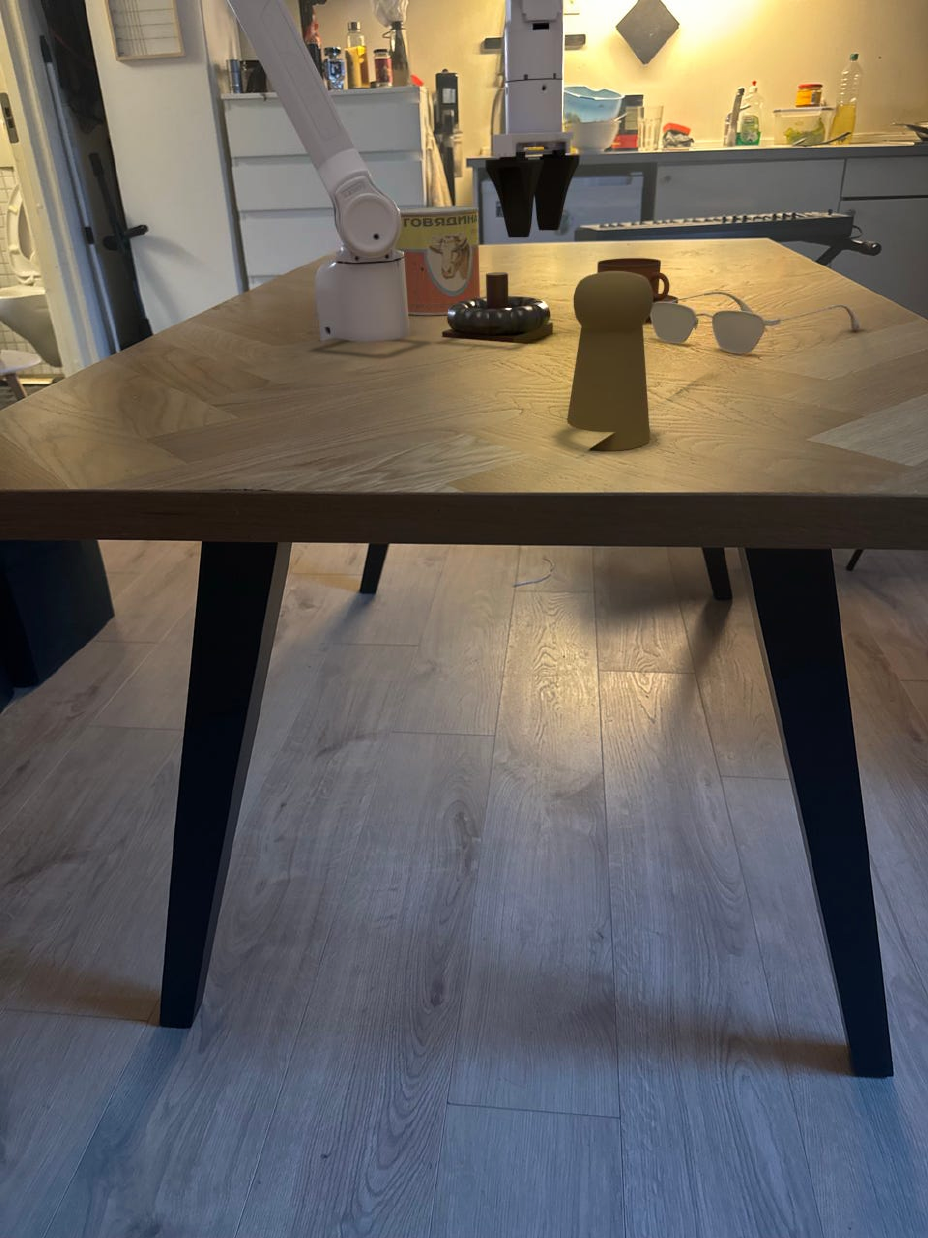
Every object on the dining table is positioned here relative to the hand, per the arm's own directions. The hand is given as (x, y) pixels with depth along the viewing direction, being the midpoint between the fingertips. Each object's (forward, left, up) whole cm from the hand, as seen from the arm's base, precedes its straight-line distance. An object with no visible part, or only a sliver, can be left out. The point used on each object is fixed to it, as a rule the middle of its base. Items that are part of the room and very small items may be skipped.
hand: (534, 233), depth 90 cm
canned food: (-21, +12, -11) cm, 27 cm away
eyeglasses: (+22, +8, -11) cm, 26 cm away
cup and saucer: (+5, +14, -11) cm, 18 cm away
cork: (+23, -32, -11) cm, 41 cm away
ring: (-3, -3, -8) cm, 9 cm away
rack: (-3, -3, -10) cm, 11 cm away
